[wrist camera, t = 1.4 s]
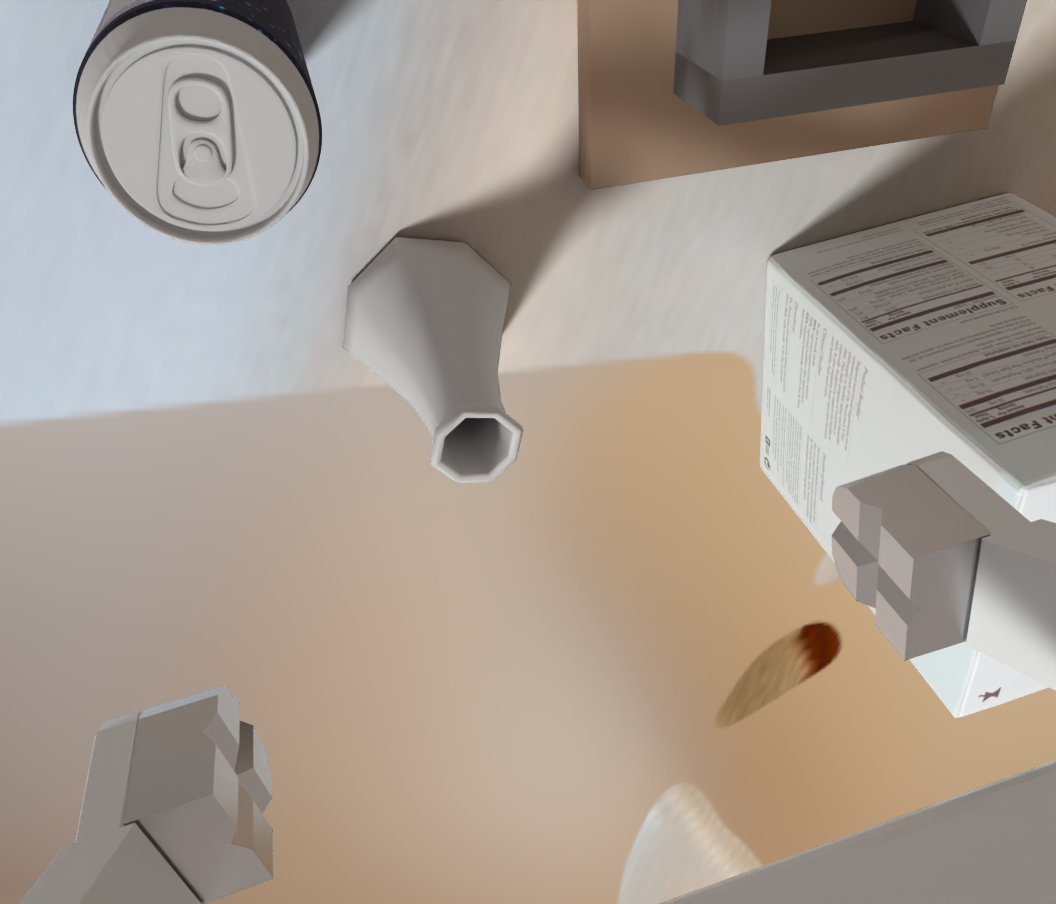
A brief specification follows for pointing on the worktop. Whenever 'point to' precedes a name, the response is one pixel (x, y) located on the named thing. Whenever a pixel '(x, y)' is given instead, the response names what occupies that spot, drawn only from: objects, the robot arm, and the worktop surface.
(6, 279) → the worktop surface
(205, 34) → the beverage can
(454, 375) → the flask
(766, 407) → the supplement box
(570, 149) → the worktop surface
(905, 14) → the square holder on base
